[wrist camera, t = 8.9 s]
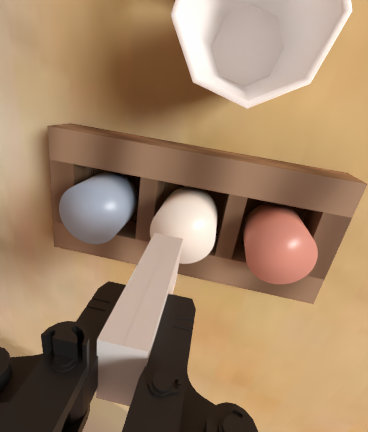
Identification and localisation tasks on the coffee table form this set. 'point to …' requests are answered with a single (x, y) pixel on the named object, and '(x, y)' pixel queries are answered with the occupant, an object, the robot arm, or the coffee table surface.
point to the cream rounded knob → (188, 222)
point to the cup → (256, 43)
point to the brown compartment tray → (209, 180)
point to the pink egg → (278, 244)
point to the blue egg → (98, 207)
